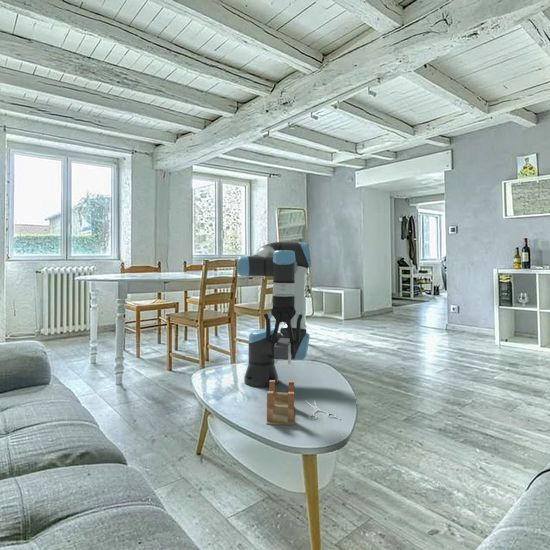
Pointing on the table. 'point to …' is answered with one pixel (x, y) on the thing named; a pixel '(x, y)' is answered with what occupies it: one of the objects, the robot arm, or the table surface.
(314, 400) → the white flat branched piece
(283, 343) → the bar
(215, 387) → the table surface
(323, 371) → the table surface
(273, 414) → the wooden ladder frame
